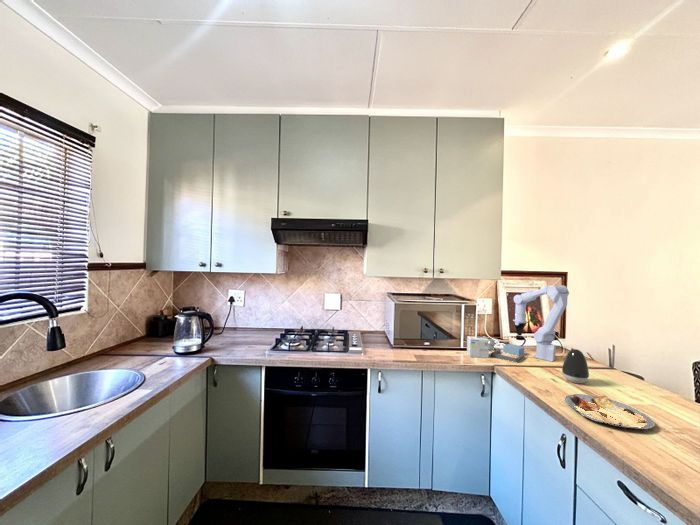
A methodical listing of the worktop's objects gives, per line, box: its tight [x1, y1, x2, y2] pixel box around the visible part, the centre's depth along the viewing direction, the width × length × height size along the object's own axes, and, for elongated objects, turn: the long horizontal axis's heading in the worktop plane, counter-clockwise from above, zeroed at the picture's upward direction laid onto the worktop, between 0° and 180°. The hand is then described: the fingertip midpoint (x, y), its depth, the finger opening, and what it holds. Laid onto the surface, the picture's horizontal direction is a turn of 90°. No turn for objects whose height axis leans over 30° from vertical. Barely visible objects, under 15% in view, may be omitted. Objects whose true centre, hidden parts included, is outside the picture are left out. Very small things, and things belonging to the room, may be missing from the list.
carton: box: [502, 343, 525, 357], centre depth 188 cm, size 9×8×4 cm
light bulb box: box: [466, 335, 490, 359], centre depth 180 cm, size 11×7×11 cm, turn 86°
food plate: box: [564, 393, 655, 430], centre depth 113 cm, size 25×23×4 cm
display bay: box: [490, 348, 525, 364], centre depth 180 cm, size 14×13×2 cm
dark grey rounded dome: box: [561, 347, 590, 384], centre depth 145 cm, size 10×10×15 cm
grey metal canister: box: [488, 338, 496, 351], centre depth 195 cm, size 5×5×6 cm
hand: (519, 335), depth 197 cm, fingers closed
